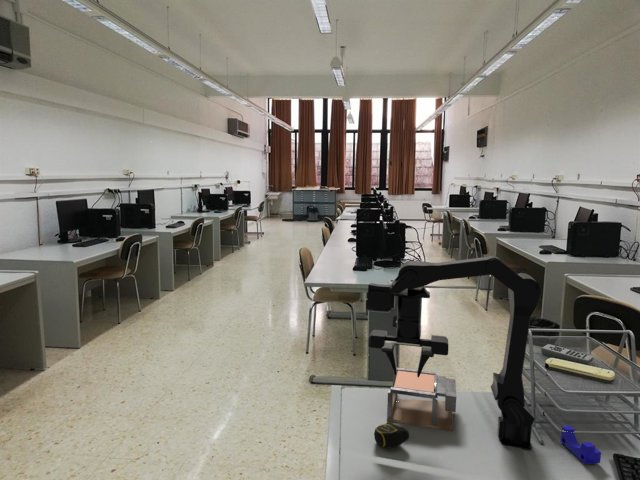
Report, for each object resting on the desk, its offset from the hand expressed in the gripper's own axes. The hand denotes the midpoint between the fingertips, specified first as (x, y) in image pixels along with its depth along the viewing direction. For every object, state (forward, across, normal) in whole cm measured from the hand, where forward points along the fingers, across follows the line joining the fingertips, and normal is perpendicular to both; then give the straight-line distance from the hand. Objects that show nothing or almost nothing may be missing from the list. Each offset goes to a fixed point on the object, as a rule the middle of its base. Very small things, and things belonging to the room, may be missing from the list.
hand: (406, 375), depth 106 cm
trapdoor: (+5, -7, -7) cm, 11 cm away
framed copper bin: (+13, -4, -7) cm, 15 cm away
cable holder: (+13, -39, 0) cm, 41 cm away
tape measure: (+13, 0, +9) cm, 15 cm away
